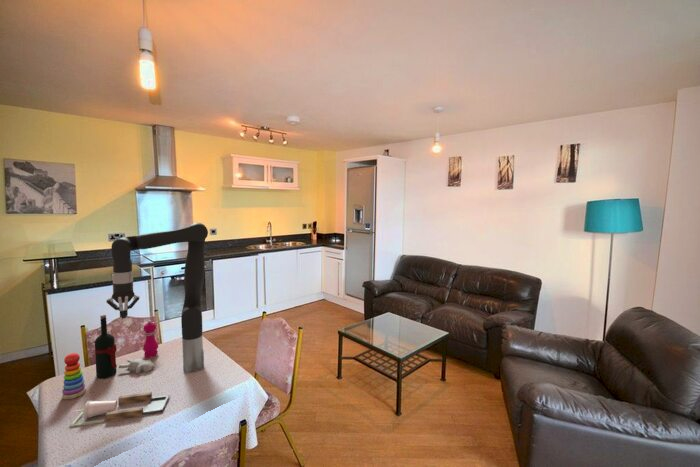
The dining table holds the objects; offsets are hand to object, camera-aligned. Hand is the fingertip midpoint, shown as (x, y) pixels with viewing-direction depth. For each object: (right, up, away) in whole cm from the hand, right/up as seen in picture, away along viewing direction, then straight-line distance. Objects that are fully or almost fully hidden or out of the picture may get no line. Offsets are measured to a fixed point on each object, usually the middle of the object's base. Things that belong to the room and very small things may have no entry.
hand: (123, 317), depth 145 cm
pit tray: (+24, -33, -14) cm, 43 cm away
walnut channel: (+15, -34, -16) cm, 40 cm away
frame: (+3, -34, -19) cm, 39 cm away
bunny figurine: (-3, -31, +14) cm, 34 cm away
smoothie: (+10, -31, -18) cm, 37 cm away
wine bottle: (-14, -31, +9) cm, 35 cm away
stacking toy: (-17, -32, -7) cm, 37 cm away
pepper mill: (-6, -29, +30) cm, 42 cm away
